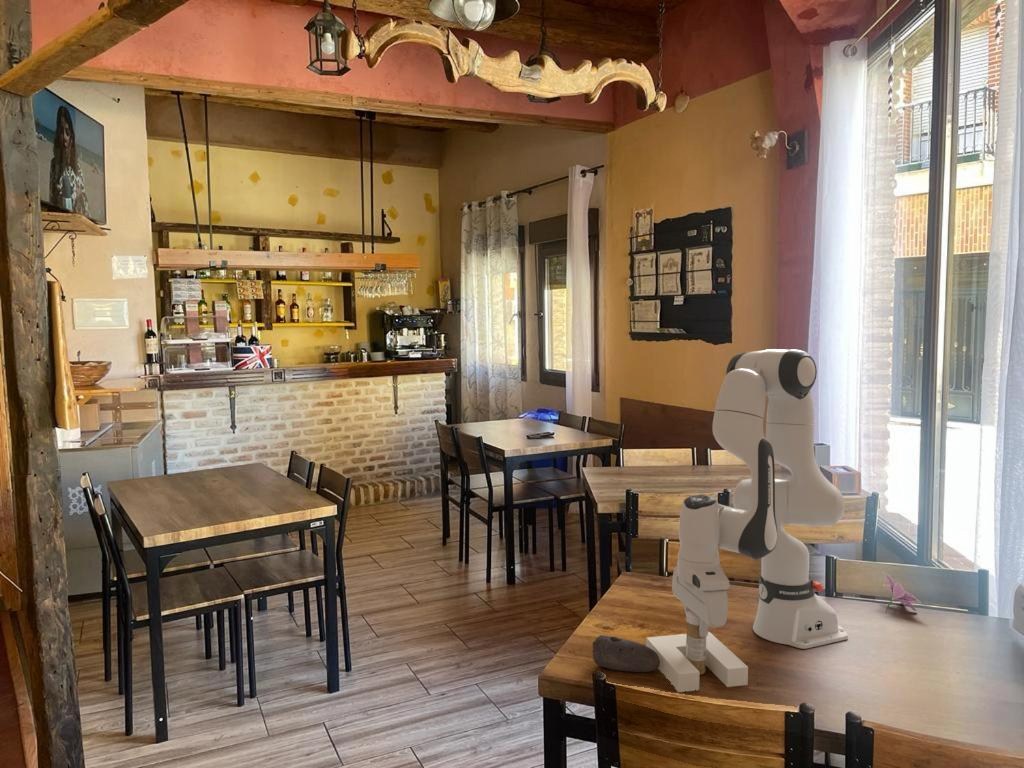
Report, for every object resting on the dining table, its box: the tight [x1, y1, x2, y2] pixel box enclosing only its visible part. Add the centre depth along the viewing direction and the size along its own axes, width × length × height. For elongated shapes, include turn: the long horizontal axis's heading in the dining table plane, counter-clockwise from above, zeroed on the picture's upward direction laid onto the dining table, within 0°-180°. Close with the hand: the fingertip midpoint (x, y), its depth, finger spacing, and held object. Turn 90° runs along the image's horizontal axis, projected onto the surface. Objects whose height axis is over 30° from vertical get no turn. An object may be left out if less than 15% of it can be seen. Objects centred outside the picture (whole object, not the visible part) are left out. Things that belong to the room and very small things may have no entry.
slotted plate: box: [645, 631, 749, 693], centre depth 163 cm, size 16×18×4 cm
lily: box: [881, 570, 922, 612], centre depth 195 cm, size 12×12×10 cm
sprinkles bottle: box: [685, 610, 707, 675], centre depth 161 cm, size 5×5×14 cm
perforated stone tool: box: [591, 634, 660, 673], centre depth 162 cm, size 15×5×7 cm, turn 71°
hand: (696, 630), depth 161 cm, fingers closed on sprinkles bottle, 4 cm apart
